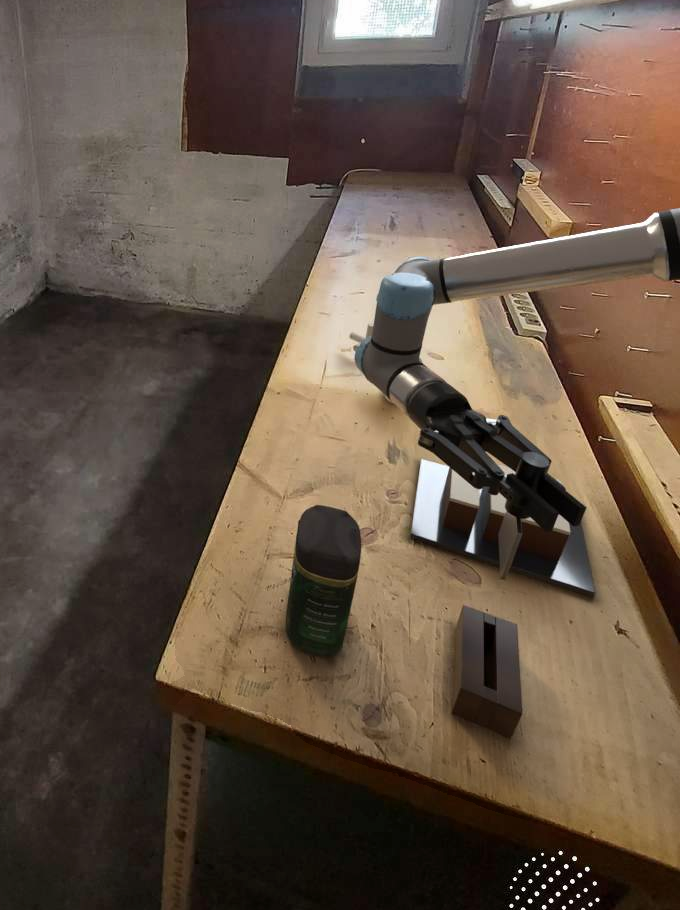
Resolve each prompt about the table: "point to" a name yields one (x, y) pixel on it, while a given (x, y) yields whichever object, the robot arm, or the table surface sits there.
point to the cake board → (430, 530)
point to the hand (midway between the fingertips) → (566, 519)
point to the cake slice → (460, 503)
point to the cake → (523, 526)
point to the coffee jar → (323, 580)
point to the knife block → (503, 692)
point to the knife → (510, 532)
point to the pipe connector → (360, 338)
